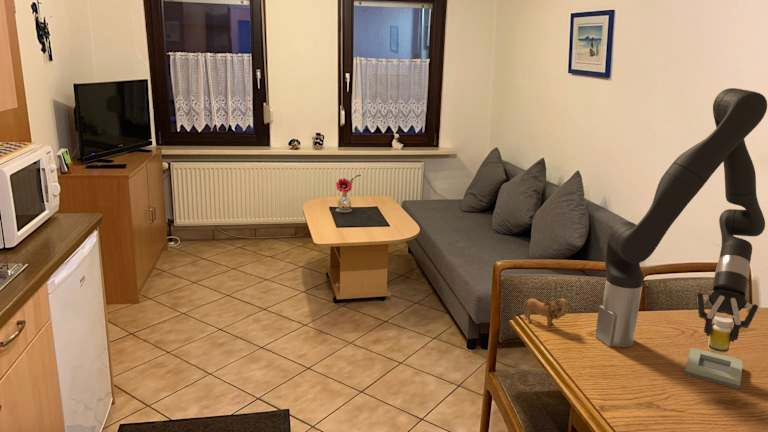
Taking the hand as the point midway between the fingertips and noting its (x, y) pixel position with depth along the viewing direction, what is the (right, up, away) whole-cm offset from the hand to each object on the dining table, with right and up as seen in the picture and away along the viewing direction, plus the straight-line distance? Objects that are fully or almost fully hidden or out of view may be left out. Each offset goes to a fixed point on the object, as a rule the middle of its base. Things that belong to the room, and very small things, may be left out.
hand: (720, 337), depth 151 cm
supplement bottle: (+1, -4, +3) cm, 5 cm away
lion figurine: (-37, -2, +28) cm, 46 cm away
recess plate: (0, -9, +4) cm, 10 cm away
